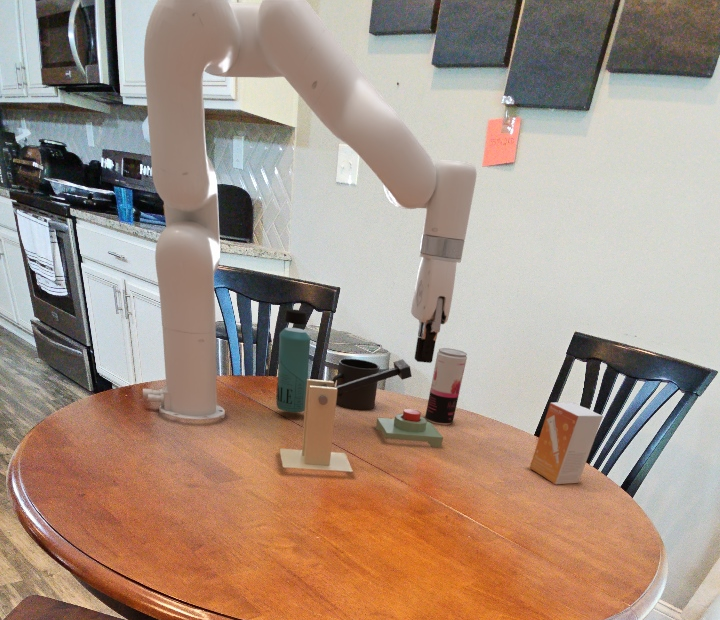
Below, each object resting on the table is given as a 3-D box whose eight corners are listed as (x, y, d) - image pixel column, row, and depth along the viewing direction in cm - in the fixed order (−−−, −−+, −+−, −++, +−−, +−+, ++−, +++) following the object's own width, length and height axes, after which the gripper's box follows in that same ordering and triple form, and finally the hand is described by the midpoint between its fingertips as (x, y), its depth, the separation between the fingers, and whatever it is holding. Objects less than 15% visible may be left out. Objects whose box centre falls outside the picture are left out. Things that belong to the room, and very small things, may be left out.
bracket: (344, 459, 108) (353, 380, 100) (352, 478, 101) (362, 394, 93) (279, 454, 106) (283, 373, 97) (282, 474, 99) (287, 387, 90)
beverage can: (455, 426, 135) (471, 356, 126) (428, 424, 134) (442, 353, 125) (448, 418, 140) (462, 349, 131) (422, 415, 139) (435, 346, 130)
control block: (385, 443, 119) (388, 423, 116) (375, 427, 126) (378, 408, 124) (441, 447, 121) (445, 428, 119) (428, 432, 129) (432, 413, 127)
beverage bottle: (308, 413, 128) (315, 310, 116) (302, 422, 123) (310, 315, 111) (278, 408, 128) (283, 305, 116) (272, 417, 123) (276, 309, 111)
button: (404, 422, 120) (405, 413, 119) (400, 416, 123) (401, 408, 122) (421, 423, 121) (422, 415, 120) (416, 418, 123) (418, 409, 122)
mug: (317, 400, 138) (321, 359, 132) (358, 397, 144) (363, 358, 139) (341, 412, 132) (345, 369, 127) (382, 409, 139) (388, 368, 133)
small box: (528, 468, 118) (549, 401, 110) (552, 467, 120) (574, 402, 112) (554, 485, 112) (578, 415, 104) (579, 483, 115) (604, 415, 107)
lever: (405, 371, 99) (402, 356, 97) (412, 379, 95) (409, 363, 93) (313, 400, 99) (309, 386, 98) (316, 409, 95) (312, 394, 94)
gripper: (411, 244, 109) (396, 351, 120) (432, 250, 97) (414, 368, 108) (449, 249, 111) (431, 354, 122) (475, 256, 99) (452, 372, 110)
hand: (423, 361), depth 115 cm, fingers closed
